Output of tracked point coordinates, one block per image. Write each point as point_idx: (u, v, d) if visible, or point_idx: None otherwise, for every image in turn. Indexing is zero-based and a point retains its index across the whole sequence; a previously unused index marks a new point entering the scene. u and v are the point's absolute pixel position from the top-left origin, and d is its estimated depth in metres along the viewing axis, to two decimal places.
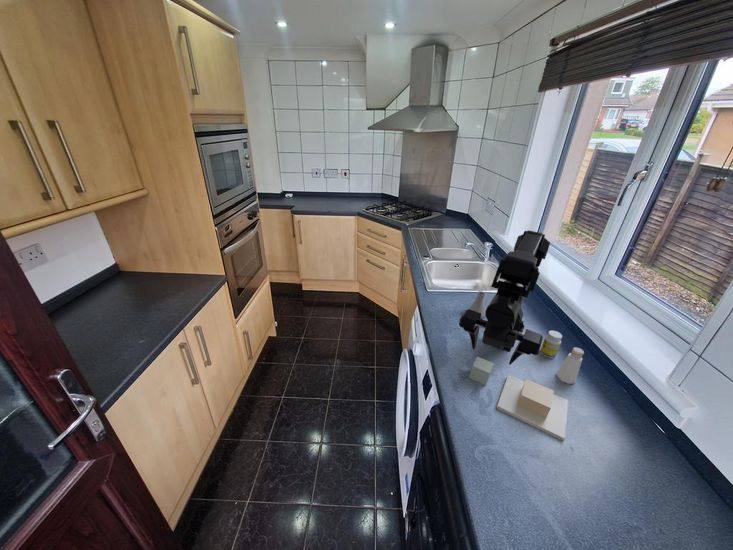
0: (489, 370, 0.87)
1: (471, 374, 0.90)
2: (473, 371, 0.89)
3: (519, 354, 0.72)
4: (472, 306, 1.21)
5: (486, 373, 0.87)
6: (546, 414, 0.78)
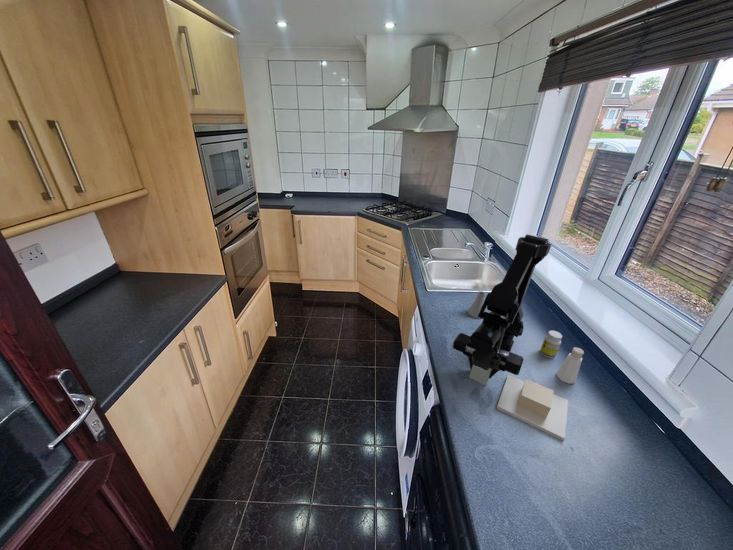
0: (489, 370, 0.87)
1: (471, 374, 0.90)
2: (473, 370, 0.89)
3: (496, 370, 0.86)
4: (472, 306, 1.21)
5: (486, 373, 0.87)
6: (546, 414, 0.78)
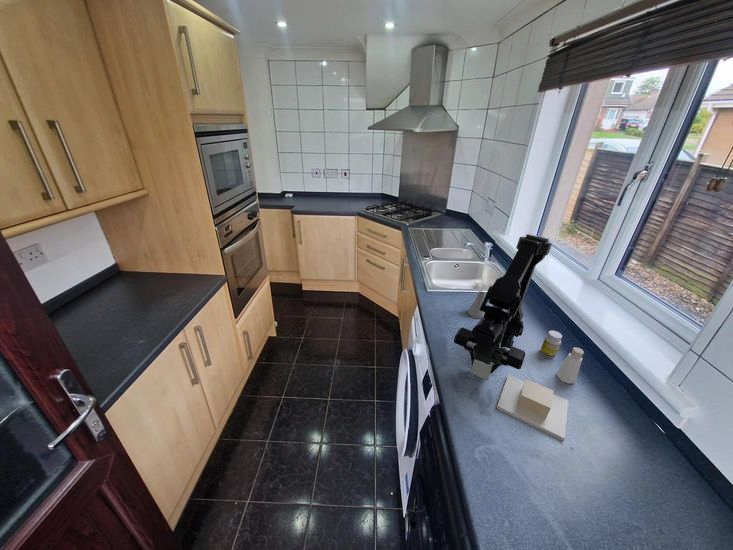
0: (491, 364, 0.86)
1: (472, 369, 0.89)
2: (474, 365, 0.88)
3: (498, 365, 0.85)
4: (472, 306, 1.21)
5: (488, 368, 0.86)
6: (546, 414, 0.78)
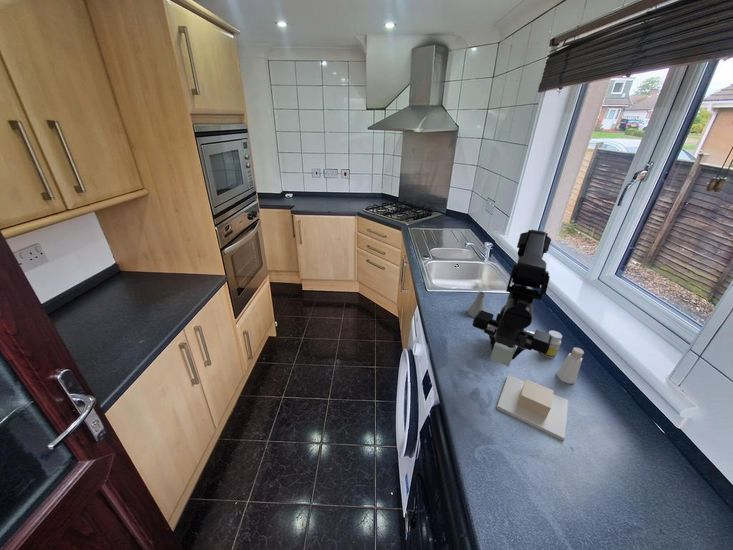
0: (513, 349, 0.80)
1: (492, 354, 0.83)
2: (495, 350, 0.82)
3: (521, 350, 0.79)
4: (472, 306, 1.21)
5: (509, 353, 0.80)
6: (546, 414, 0.78)
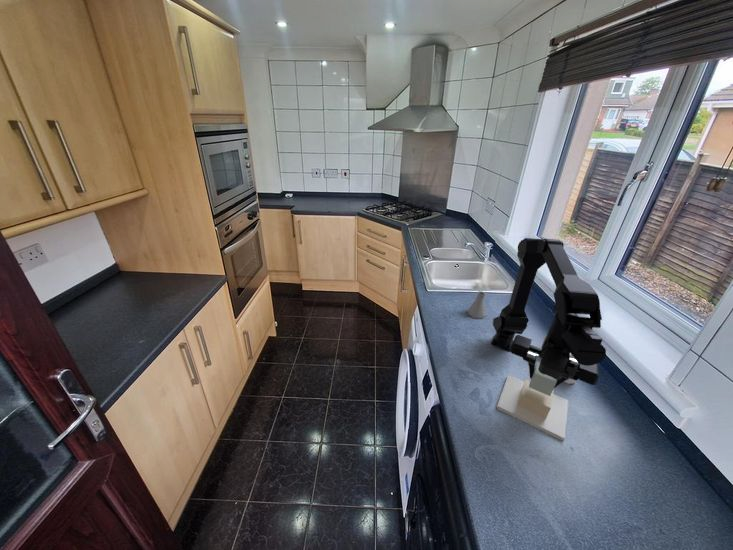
0: None
1: (532, 383, 0.78)
2: (535, 379, 0.77)
3: (565, 379, 0.74)
4: (472, 306, 1.21)
5: (552, 382, 0.75)
6: (546, 414, 0.78)
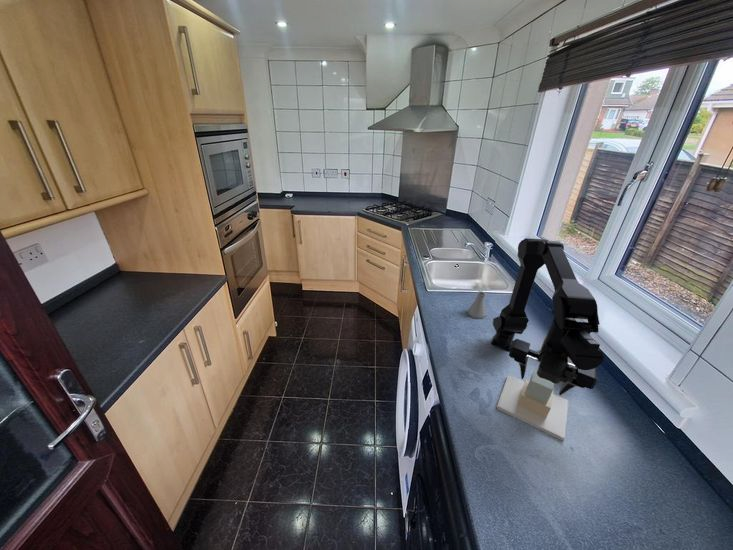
0: (551, 386, 0.76)
1: (529, 390, 0.79)
2: (532, 386, 0.78)
3: (571, 386, 0.73)
4: (472, 306, 1.21)
5: (548, 390, 0.76)
6: (546, 414, 0.78)
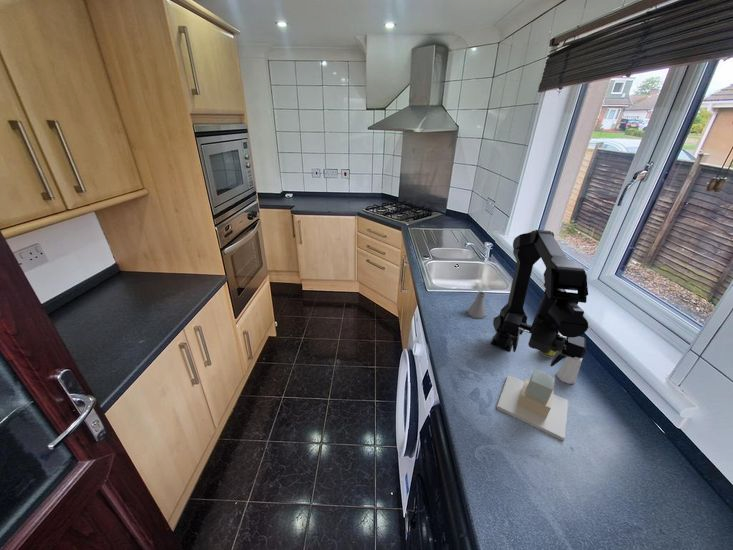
0: (551, 386, 0.76)
1: (529, 390, 0.79)
2: (532, 386, 0.78)
3: (562, 357, 0.75)
4: (472, 306, 1.21)
5: (548, 390, 0.76)
6: (546, 414, 0.78)
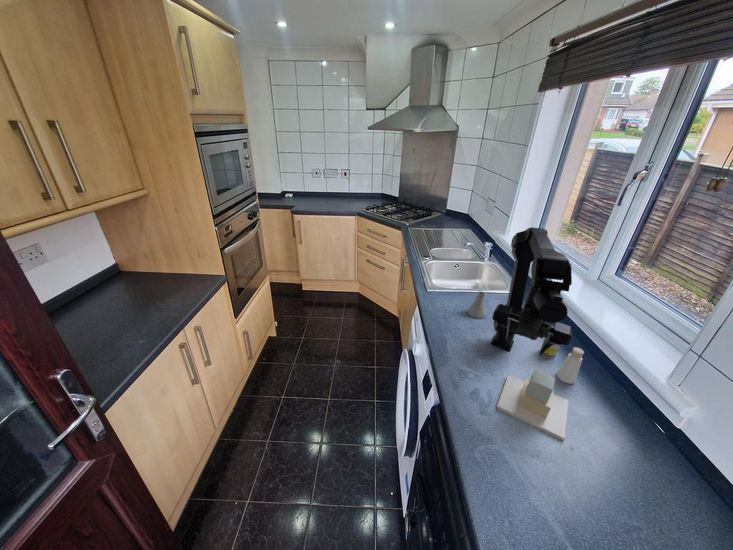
0: (551, 386, 0.76)
1: (529, 390, 0.79)
2: (532, 386, 0.78)
3: (550, 345, 0.79)
4: (472, 306, 1.21)
5: (548, 390, 0.76)
6: (546, 414, 0.78)
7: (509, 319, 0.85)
